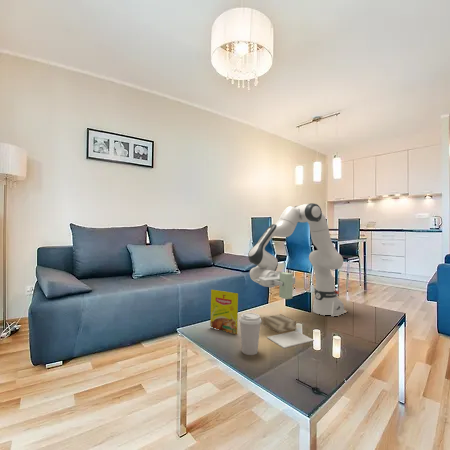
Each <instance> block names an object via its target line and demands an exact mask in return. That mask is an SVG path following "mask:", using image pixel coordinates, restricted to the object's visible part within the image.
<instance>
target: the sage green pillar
mask: <svg viewBox="0 0 450 450" xmlns="http://www.w3.org/2000/svg"><path fill="white" fill-rule="evenodd" d="M281 272H282V273H280V282H284V286H280V285H278V286H279V290H278V291H279V293H278V294H279V295H278V296H279V298H281V299H284V300H291V299H293V285H294V284H293V276H294V273H290V272H286V271H285V272H283V271H281Z"/></svg>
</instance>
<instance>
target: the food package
mask: <svg viewBox="0 0 450 450" xmlns="http://www.w3.org/2000/svg"><path fill="white" fill-rule="evenodd" d="M238 309H239V293H238V292H231V291H224V290H217V289H210V325H209V326H211V327H213V328H216V329H219V330H222V331H221V332H224V331H226V332H225V333H228V332H229V334H232V335H238V321H239V317H238V316H239V315H238V314H239V313H238V312H239V310H238ZM219 330H218V331H219Z"/></svg>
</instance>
